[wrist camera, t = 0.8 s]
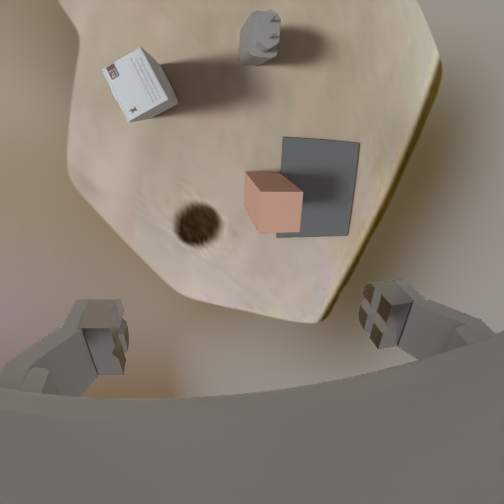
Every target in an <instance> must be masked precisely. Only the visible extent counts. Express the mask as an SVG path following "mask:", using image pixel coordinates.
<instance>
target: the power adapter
mask: <svg viewBox="0 0 504 504" xmlns="http://www.w3.org/2000/svg"><path fill="white" fill-rule="evenodd" d="M280 23H281V20H280V17H279V16H278V14H277V13H275V12H274V11H273V10H268V11H266V12H264V11H254V12H253V13H252V14H251V15H250V17H249V18H248V19H247V21H246V22H245V24H244V25H243V27H242V28H241V31H240V45H239V62H240V63H241V64H243V65H254V66H259V65H261V64H263V63H265V62H266V61H268V60H270V59H272V58H273V57H275V56H276V55H277V54H278V43H279V40H280Z"/></svg>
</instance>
